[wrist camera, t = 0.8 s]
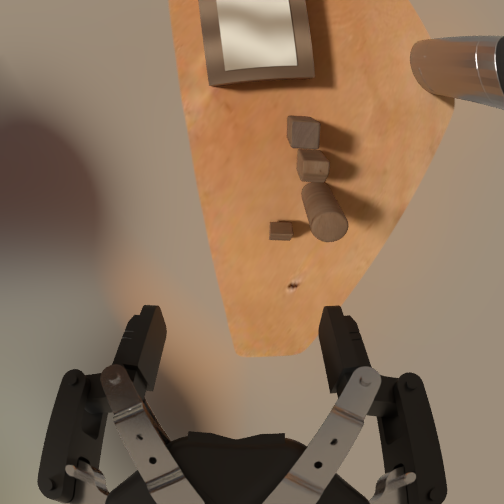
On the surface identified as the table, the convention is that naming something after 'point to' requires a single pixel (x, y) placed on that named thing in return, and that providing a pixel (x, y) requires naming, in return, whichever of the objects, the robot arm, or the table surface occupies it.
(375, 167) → the table surface
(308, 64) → the picture frame
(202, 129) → the table surface
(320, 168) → the wooden block set
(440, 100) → the table surface
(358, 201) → the table surface
